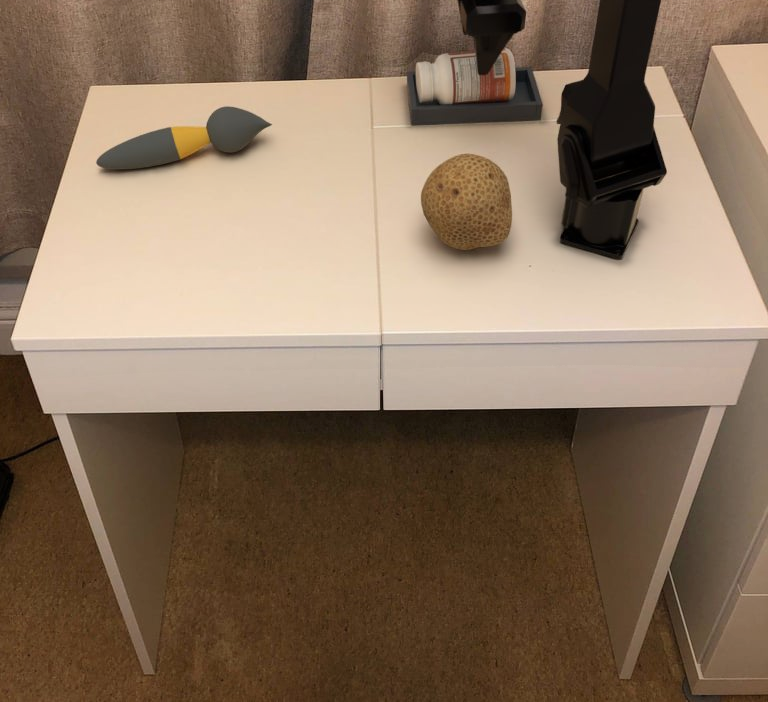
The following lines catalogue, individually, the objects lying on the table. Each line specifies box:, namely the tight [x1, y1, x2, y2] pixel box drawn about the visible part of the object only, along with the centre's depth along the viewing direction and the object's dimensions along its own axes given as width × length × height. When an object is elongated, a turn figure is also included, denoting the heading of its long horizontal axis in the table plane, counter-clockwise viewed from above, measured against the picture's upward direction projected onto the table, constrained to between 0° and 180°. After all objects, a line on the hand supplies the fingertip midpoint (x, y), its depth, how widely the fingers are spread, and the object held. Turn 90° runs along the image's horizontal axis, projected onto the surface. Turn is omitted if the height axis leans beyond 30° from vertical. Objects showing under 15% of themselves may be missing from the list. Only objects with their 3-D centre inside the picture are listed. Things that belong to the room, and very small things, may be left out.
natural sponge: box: [420, 153, 513, 251], centre depth 85 cm, size 9×9×10 cm
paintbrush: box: [95, 105, 273, 170], centre depth 97 cm, size 20×5×5 cm, turn 111°
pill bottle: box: [415, 47, 516, 105], centre depth 103 cm, size 6×6×11 cm
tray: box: [406, 66, 544, 126], centre depth 105 cm, size 15×8×2 cm, turn 92°
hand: (475, 53), depth 101 cm, fingers open, 9 cm apart
